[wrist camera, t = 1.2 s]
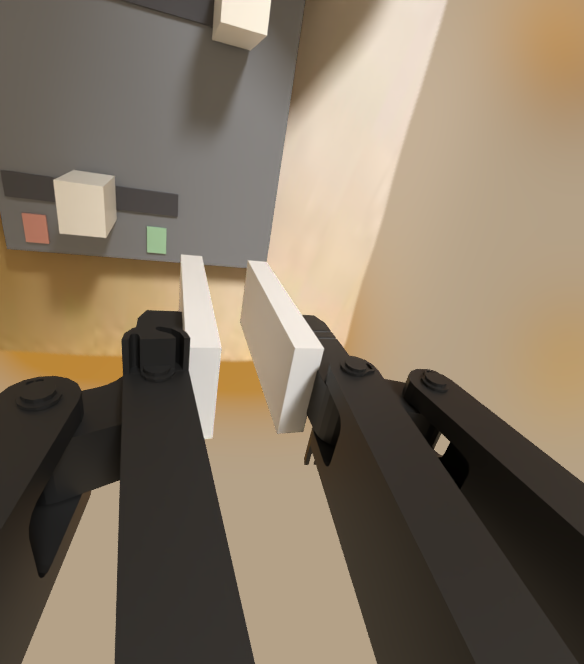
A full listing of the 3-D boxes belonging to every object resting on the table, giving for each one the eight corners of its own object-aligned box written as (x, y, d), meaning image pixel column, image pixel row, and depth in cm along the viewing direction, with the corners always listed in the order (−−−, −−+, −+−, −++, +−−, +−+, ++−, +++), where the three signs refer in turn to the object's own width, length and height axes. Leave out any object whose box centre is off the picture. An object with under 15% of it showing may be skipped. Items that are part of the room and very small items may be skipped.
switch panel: (-56, -178, 18) (-82, -212, 16) (303, -42, 24) (314, -55, 22) (17, 241, 27) (6, 249, 26) (260, 262, 34) (265, 270, 32)
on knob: (215, -23, 22) (225, -57, 17) (256, -9, 22) (275, -39, 18) (212, 39, 23) (220, 21, 19) (250, 50, 24) (266, 35, 20)
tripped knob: (73, 169, 24) (53, 179, 20) (114, 175, 25) (103, 186, 21) (77, 215, 26) (59, 233, 21) (116, 219, 26) (106, 237, 22)
